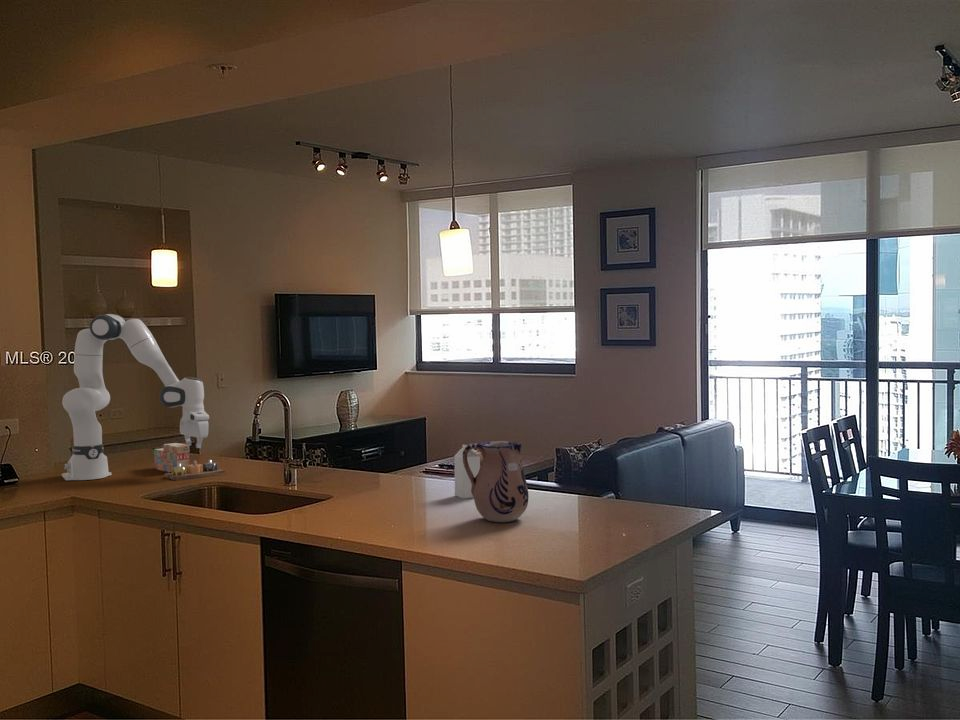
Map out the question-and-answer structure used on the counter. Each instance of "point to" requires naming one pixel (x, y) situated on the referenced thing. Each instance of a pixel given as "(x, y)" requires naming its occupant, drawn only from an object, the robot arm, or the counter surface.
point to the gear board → (193, 474)
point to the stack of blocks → (171, 456)
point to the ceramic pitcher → (498, 481)
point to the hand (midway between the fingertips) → (193, 446)
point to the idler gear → (194, 468)
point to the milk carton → (461, 475)
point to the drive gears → (183, 469)
